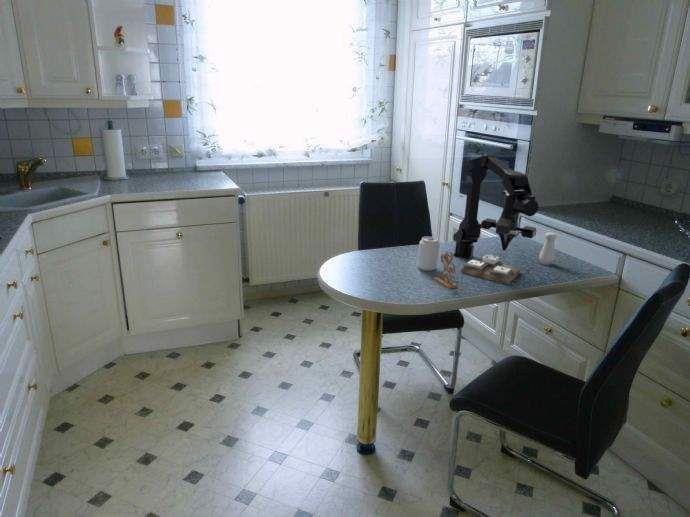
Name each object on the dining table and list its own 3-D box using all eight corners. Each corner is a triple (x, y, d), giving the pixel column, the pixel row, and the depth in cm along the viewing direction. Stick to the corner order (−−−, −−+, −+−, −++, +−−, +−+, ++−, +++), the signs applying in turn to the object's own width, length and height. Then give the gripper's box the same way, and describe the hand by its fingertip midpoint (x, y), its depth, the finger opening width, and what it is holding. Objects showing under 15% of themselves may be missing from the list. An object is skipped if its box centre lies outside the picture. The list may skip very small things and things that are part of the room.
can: (438, 267, 198) (442, 237, 194) (433, 273, 192) (437, 242, 188) (420, 263, 201) (423, 234, 197) (414, 269, 194) (417, 239, 190)
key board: (461, 272, 194) (462, 264, 193) (474, 262, 206) (475, 255, 205) (507, 284, 185) (509, 276, 184) (519, 273, 197) (521, 265, 196)
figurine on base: (457, 287, 179) (462, 255, 175) (448, 288, 178) (453, 256, 174) (442, 278, 187) (446, 247, 183) (433, 279, 185) (437, 248, 181)
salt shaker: (553, 266, 207) (560, 235, 203) (539, 264, 208) (545, 234, 204) (551, 262, 213) (557, 232, 208) (537, 260, 214) (542, 230, 209)
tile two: (481, 261, 198) (482, 256, 197) (485, 258, 202) (486, 253, 201) (494, 264, 195) (495, 259, 195) (498, 261, 199) (499, 256, 199)
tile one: (492, 273, 189) (493, 268, 188) (496, 270, 193) (497, 265, 192) (506, 277, 186) (506, 272, 186) (510, 273, 190) (510, 268, 190)
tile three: (466, 267, 194) (467, 262, 193) (471, 263, 198) (472, 259, 197) (479, 270, 191) (480, 265, 191) (484, 267, 195) (484, 262, 195)
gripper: (478, 208, 180) (472, 249, 186) (532, 218, 171) (523, 262, 176) (488, 203, 189) (482, 243, 195) (540, 212, 180) (532, 254, 185)
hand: (504, 250), depth 187 cm, fingers closed
